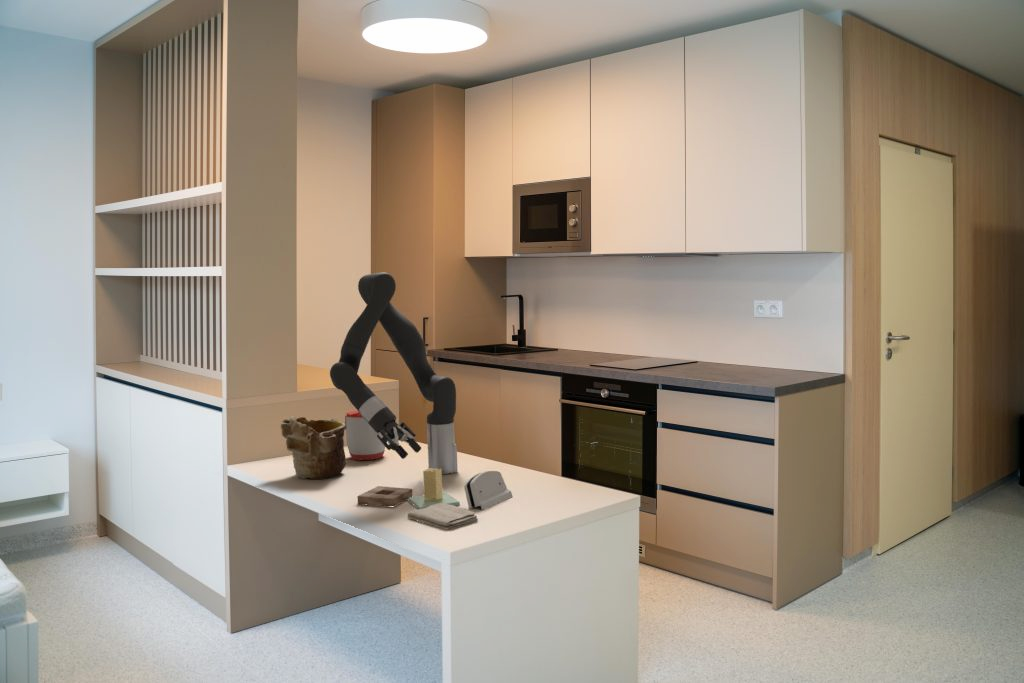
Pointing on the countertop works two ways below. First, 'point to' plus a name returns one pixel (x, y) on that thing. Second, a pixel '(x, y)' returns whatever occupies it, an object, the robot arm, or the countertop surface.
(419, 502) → the mat
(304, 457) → the ceramic vessel
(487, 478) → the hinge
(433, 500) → the peg
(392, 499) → the socket base
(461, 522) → the washcloth
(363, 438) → the citrus juicer
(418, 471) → the countertop surface
